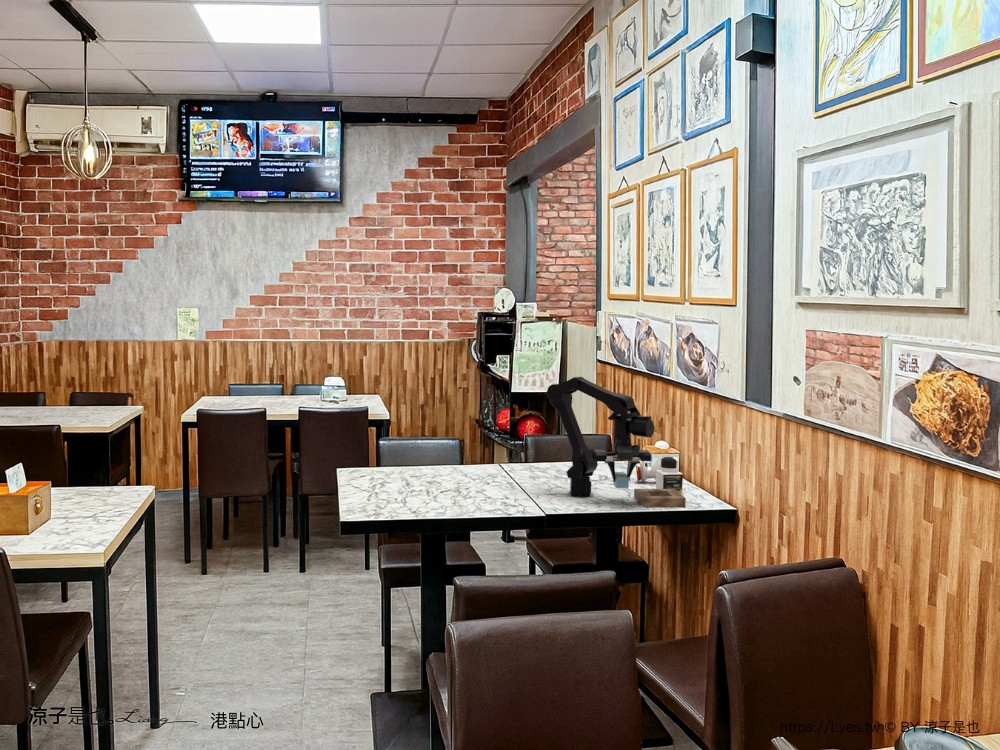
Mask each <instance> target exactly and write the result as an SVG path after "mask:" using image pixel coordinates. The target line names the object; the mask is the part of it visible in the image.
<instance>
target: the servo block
mask: <svg viewBox="0 0 1000 750" xmlns="http://www.w3.org/2000/svg"><path fill="white" fill-rule="evenodd" d="M630 482H631V477H630V478H629V477H628V476H627V473H626V472H624V471H615V482H614V481H613V480H612V484H613V486H614V488H616V489H629V484H630Z"/></svg>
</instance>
